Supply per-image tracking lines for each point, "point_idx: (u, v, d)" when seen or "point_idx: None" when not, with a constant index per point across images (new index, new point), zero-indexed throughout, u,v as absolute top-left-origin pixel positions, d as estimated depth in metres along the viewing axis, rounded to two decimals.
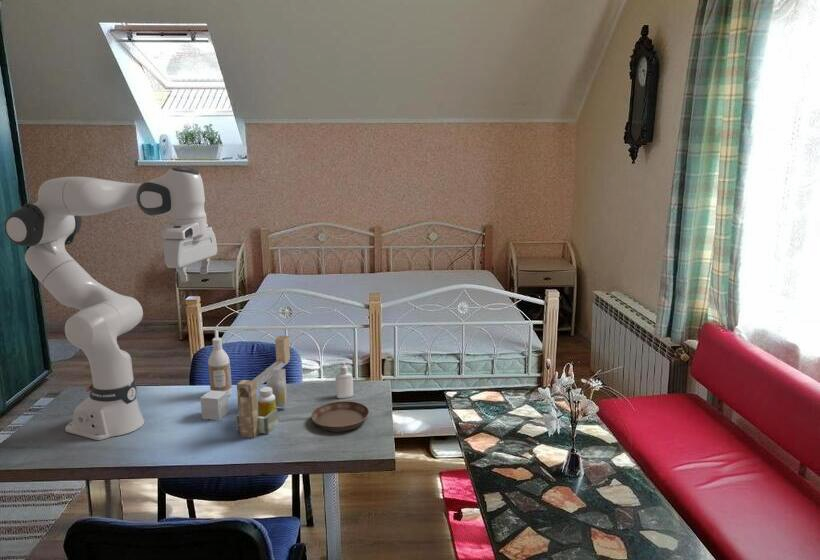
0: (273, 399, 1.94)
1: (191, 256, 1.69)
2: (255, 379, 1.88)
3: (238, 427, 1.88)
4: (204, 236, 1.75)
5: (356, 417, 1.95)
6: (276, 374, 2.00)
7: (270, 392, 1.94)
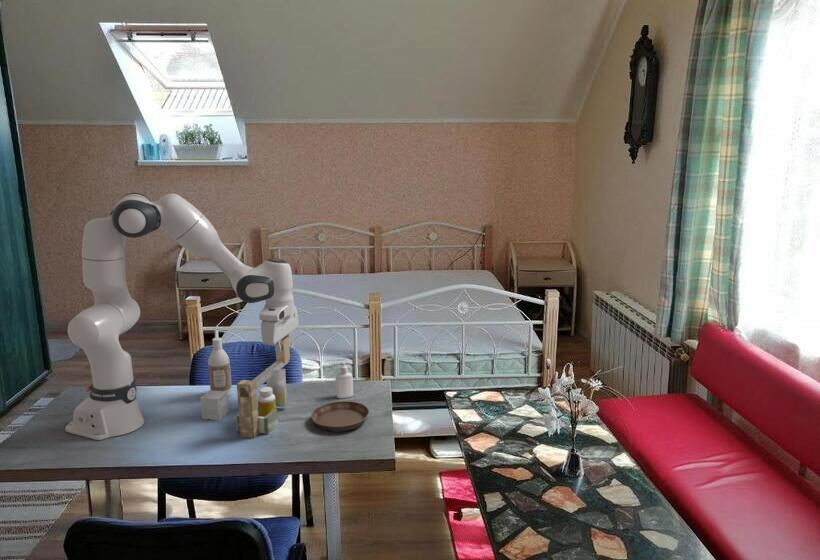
0: (273, 399, 1.94)
1: (281, 333, 2.00)
2: (255, 379, 1.88)
3: (238, 427, 1.88)
4: None
5: (356, 417, 1.95)
6: (276, 374, 2.00)
7: (270, 392, 1.94)
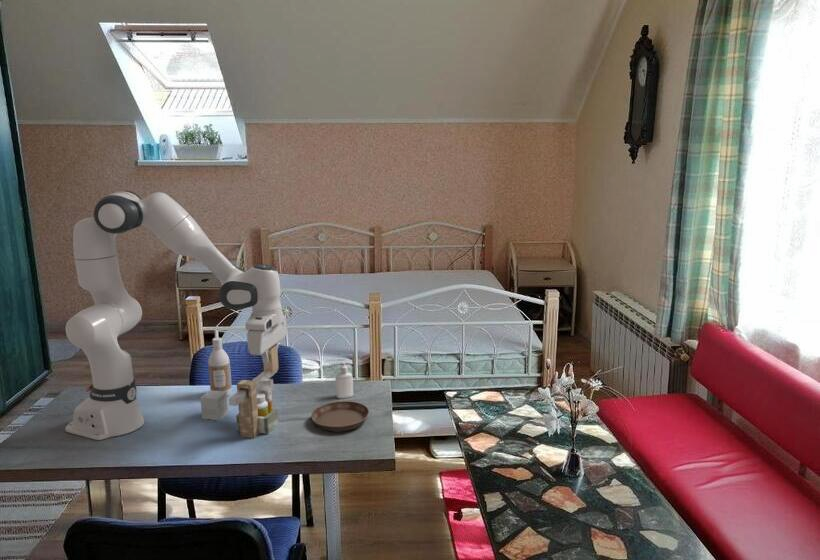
0: (266, 406, 1.89)
1: (269, 342, 1.92)
2: (241, 391, 1.80)
3: (238, 427, 1.88)
4: (278, 322, 1.97)
5: (356, 417, 1.95)
6: (264, 384, 1.92)
7: (263, 398, 1.89)
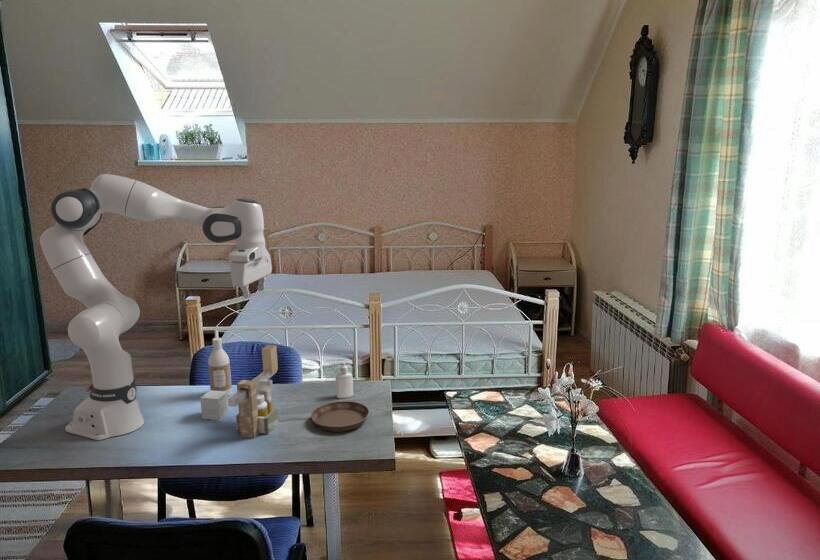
0: (265, 406, 1.89)
1: (252, 276, 1.94)
2: (240, 391, 1.79)
3: (238, 427, 1.88)
4: (262, 258, 2.00)
5: (356, 417, 1.95)
6: (263, 385, 1.91)
7: (262, 399, 1.88)
